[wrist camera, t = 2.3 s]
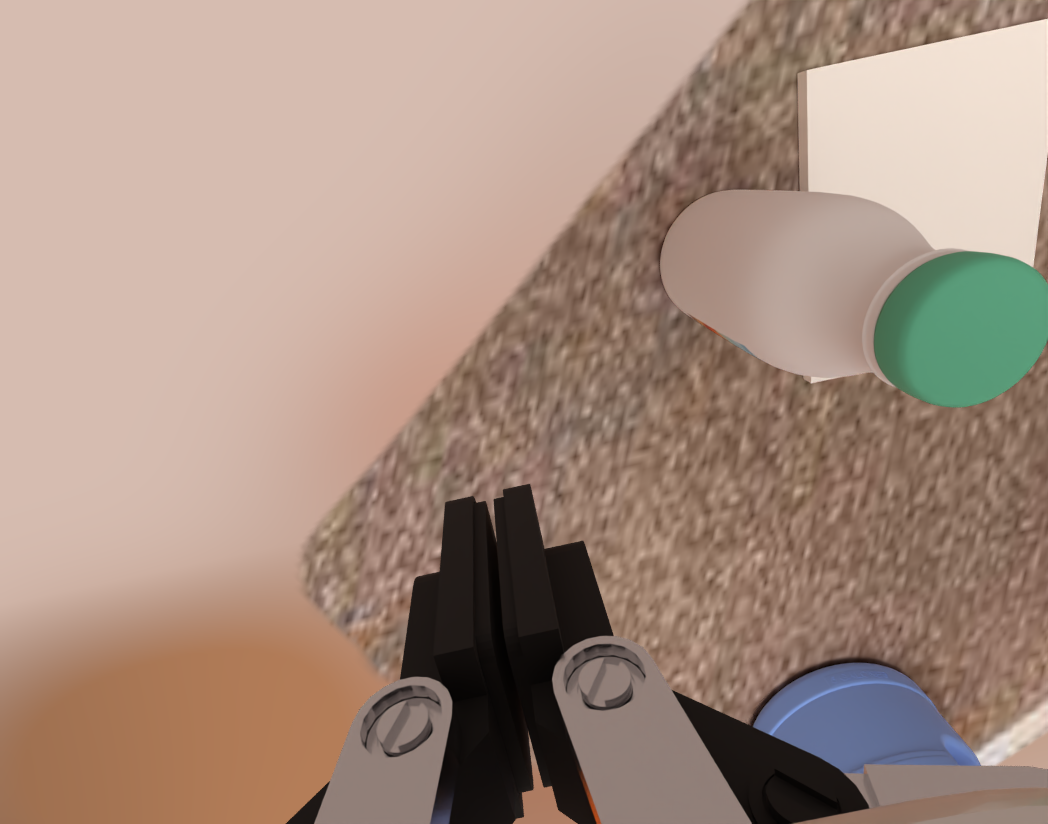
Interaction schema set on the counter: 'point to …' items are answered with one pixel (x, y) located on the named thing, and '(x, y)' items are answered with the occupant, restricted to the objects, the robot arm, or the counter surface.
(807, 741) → the water jug
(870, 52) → the counter surface
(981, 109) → the cutting board
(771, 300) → the milk bottle
